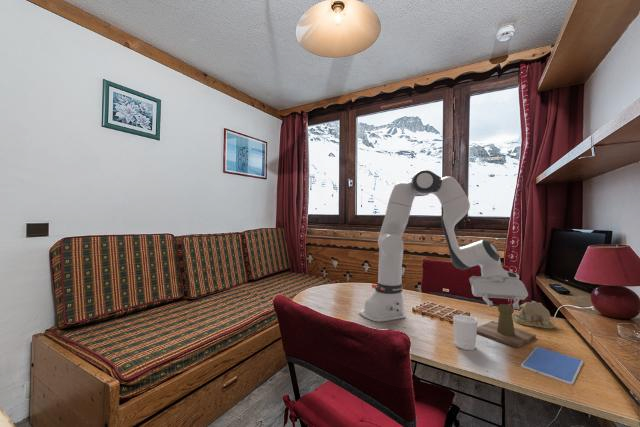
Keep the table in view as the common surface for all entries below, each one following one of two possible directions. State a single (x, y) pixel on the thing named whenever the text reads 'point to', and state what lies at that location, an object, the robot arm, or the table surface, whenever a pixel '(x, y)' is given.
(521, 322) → the ceramic model
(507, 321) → the olive green waisted column
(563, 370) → the tablet computer
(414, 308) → the table surface
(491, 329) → the walnut board
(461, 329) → the white cup
